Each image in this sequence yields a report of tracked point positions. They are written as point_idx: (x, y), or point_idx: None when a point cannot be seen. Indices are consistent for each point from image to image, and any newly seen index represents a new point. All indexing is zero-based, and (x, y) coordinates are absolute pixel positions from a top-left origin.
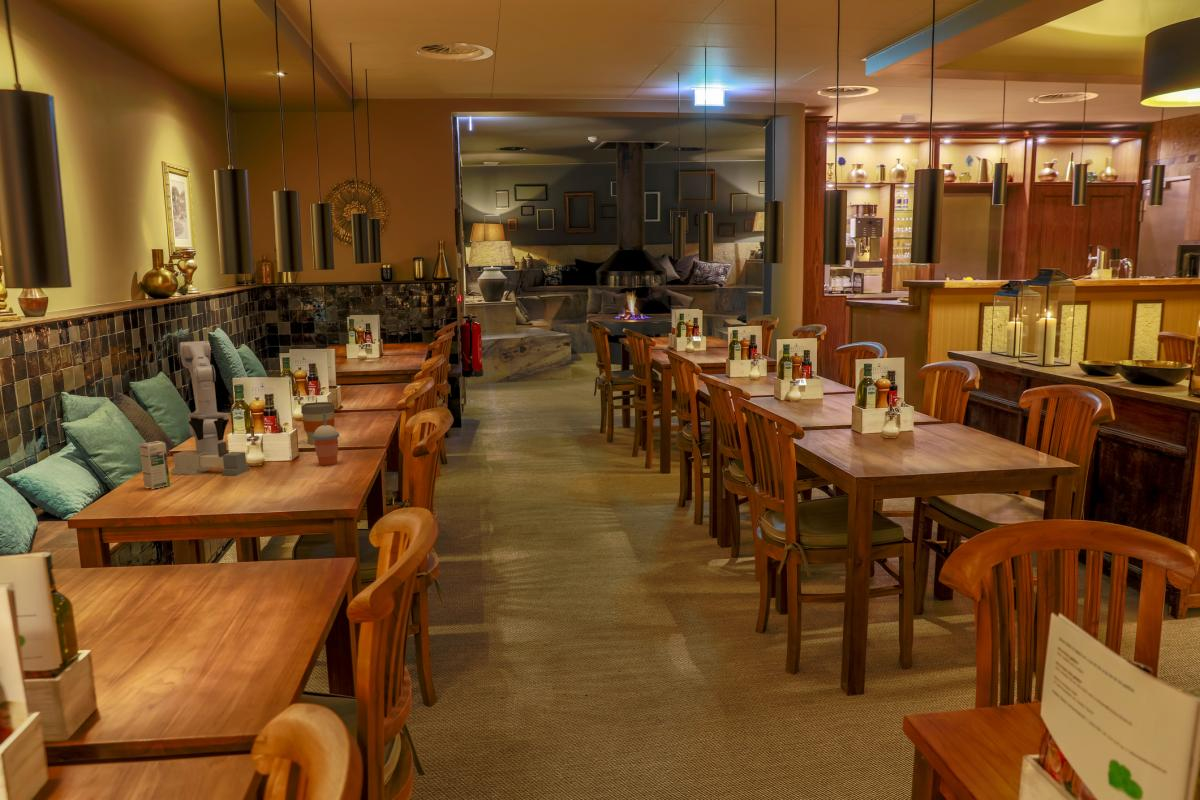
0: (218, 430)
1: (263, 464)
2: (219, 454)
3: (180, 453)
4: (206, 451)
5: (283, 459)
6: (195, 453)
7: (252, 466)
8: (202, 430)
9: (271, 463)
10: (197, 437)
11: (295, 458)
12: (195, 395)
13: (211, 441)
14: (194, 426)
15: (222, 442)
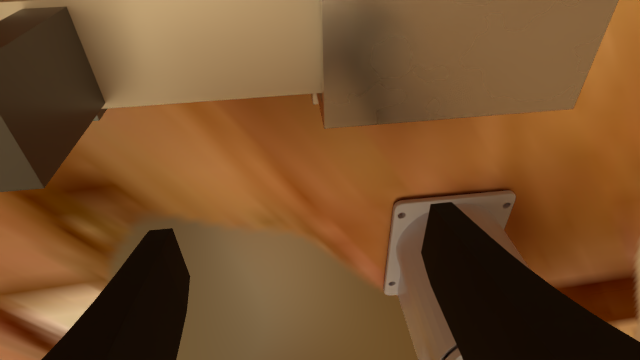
0: (67, 351)
1: (69, 231)
2: (36, 14)
3: (568, 3)
4: (325, 127)
5: (70, 312)
6: (389, 26)
7: (87, 187)
8: (462, 347)
9: (45, 253)
10: (466, 220)
11: (30, 332)
12: None
13: (442, 324)
14: (588, 357)
15: (18, 169)
